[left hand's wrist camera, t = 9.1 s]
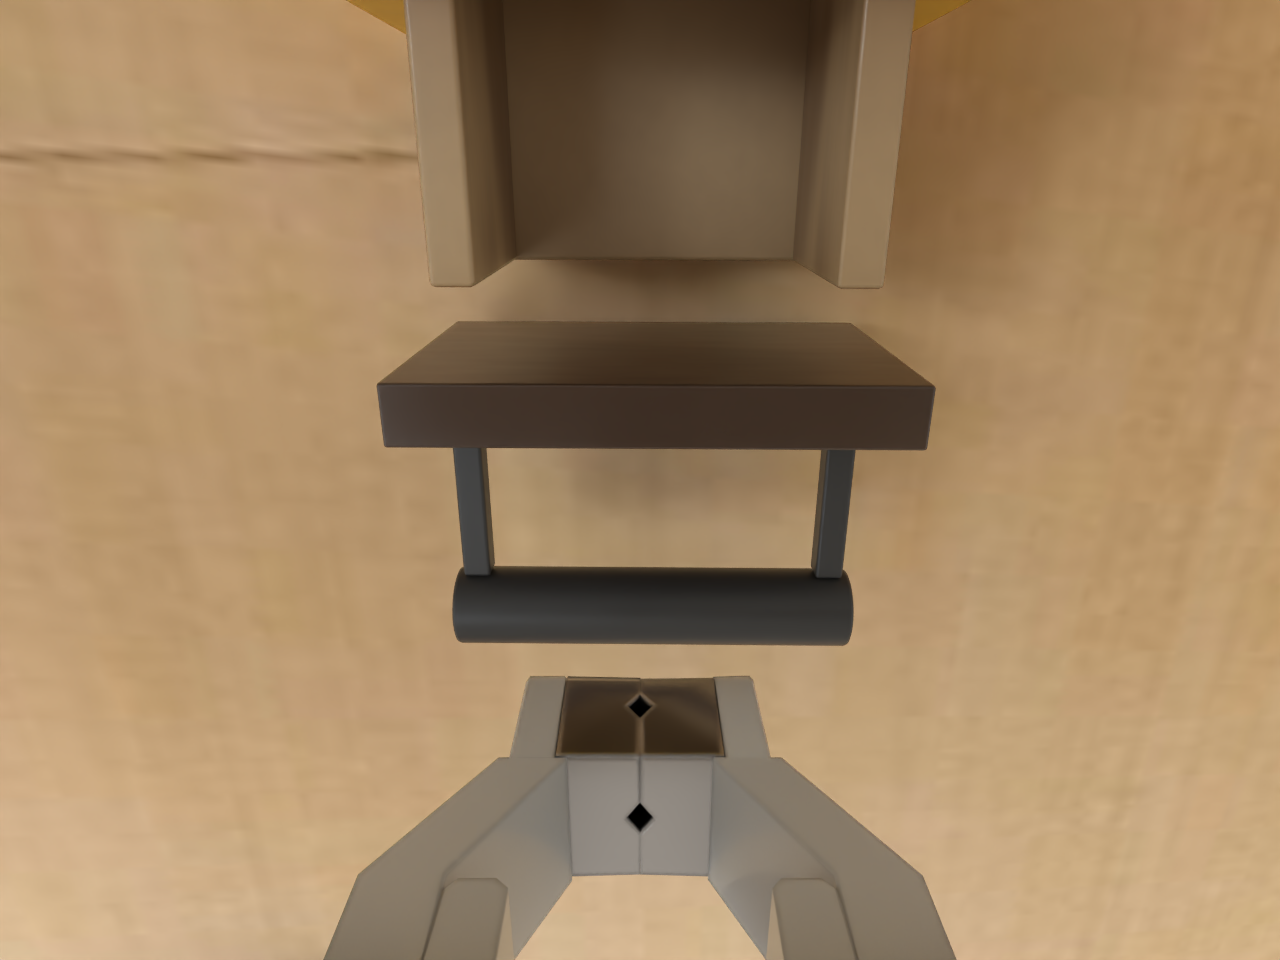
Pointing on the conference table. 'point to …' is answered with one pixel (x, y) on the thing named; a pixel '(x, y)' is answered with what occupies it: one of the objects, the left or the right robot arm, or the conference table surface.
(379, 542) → the conference table surface
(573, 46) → the drawer
